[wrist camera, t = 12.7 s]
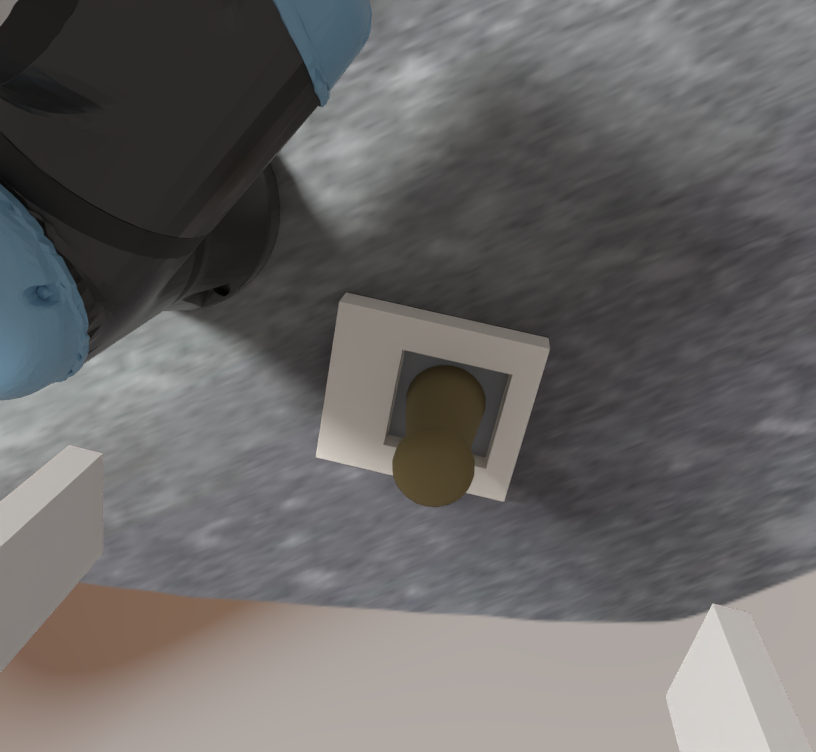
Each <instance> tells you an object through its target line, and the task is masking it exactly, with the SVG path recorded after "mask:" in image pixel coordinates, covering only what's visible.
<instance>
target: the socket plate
mask: <svg viewBox="0 0 816 752" xmlns="http://www.w3.org/2000/svg"><path fill="white" fill-rule="evenodd" d="M549 351H550V345H549V339H548V338H546V337H542V336H538V335H533V334H529V333H524V332H520V331H515V330H511V329H506V328H502V327H498V326H493V325H489V324H484V323H480V322H475V321H471V320H467V319H462V318H458V317H453V316H449V315H444V314H440V313H435V312H431V311H427V310H422V309H418V308H413V307H409V306H404V305H400V304H395V303H391V302H387V301H382V300H378V299H373V298H369V297H364V296H360V295H355V294H351V293H347V292H346V293H345V295H344V296H343V297H342V298H341V300H340V301H339V306H338V313H337V319H336V326H335V333H334V339H333V346H332V353H331V359H330V366H329V373H328V379H327V386H326V393H325V399H324V406H323V413H322V419H321V426H320V432H319V439H318V446H317V452H316V457H317V458H322V459H326V460H330V461H334V462H338V463H343V464H347V465H351V466H355V467H359V468H364V469H368V470H372V471H376V472H380V473H385V474H389V475H393V470H392V460H393V457H394V454H395V451H396V448H397V445H398V444H399V443H400V442H401V440H402V439H403V438H404V437H405V434H406V394H407V391H408V388H409V385H410V383H411V382H412V381H413V379H414V378H415V377H416V376H417V375H418V374H419V373H421V372H422V371H424V370H426V369H427V368H430V367H434V366H438V365H450V366H455V367H458V368H461V369H464V370H466V371H467V372H469V373H470V374H471V375H473V376H474V377H475V378H476V379H477V381H478V382H479V383H480V385H481V386H482V388H483V391H484V394H485V397H486V404H485V411H484V414H483V417H482V420H481V422H480V425H479V428H478V430H477V433H476V436H475V438H474V441H473V444H472V446H471V451H472V454H473V457H474V459H475V468H474V478H473V480H472V483H471V485H470V487H469V489H468V491H467V492H466V493H469V494H473V495H477V496H481V497H485V498H490V499H494V500H498V501H502V502H504V500H505V497H506V494H507V490H508V487H509V484H510V480H511V477H512V474H513V470H514V467H515V464H516V460H517V457H518V454H519V451H520V447H521V444H522V441H523V437H524V434H525V431H526V427H527V424H528V421H529V417H530V414H531V411H532V407H533V404H534V401H535V397H536V394H537V391H538V388H539V384H540V381H541V378H542V374H543V371H544V368H545V364H546V361H547V358H548V354H549Z"/></svg>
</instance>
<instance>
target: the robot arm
mask: <svg viewBox="0 0 816 752" xmlns="http://www.w3.org/2000/svg"><path fill="white" fill-rule="evenodd" d="M371 16H372V11H371V6H370V2H369V0H0V400H10V399H16V398H21V397H24V396H27V395H30V394H32V393H34V392H37V391H39V390H40V389H42V388H44V387H46V386H48V385H50V384H51V383H55V382H62V381H64V380H66V379H67V378H68V377H71V376H73V375H74V374H76V373H77V372H78V371H79V370H80V369H81V367H82V366H83V364H84V363H86V362H87V361H89V360H90V359H92V358H93V357H95V356H96V355H98V354H99V353H101V352H102V351H104V350H105V349H107V348H108V347H110V346H111V345H113V344H114V343H116V342H117V341H119V340H120V339H122V338H123V337H125V336H126V335H128V334H129V333H131V332H132V331H134V330H135V329H137V328H138V327H140V326H141V325H143V324H144V323H146V322H147V321H149V320H150V319H152V318H153V317H155V316H156V315H158V314H159V313H161V312H162V311H181V310H195V309H201V308H205V307H208V306H211V305H214V304H217V303H219V302H221V301H224V300H226V299H227V298H229V297H231V296H232V295H234V294H235V293H236V292H238V291H239V290H240V289H242V288H243V287H244V286H246V285H247V284H248V283H249V282H250V281H252V280H253V279H254V278H255V277H256V275H257V274H258V273H259V272H260V271H261V269H262V268H263V266H264V265H265V263H266V262H267V260H268V258H269V256H270V254H271V252H272V249H273V247H274V244H275V241H276V237H277V232H278V226H279V196H278V190H277V185H276V181H275V178H274V174H273V171H272V168H271V166H270V162H271V161H272V160H273V158H274V157H275V156H276V155H277V154H278V152H279V151H280V150H281V149H282V148H283V147H284V145H285V144H286V143H287V142H288V141H289V140H290V138H291V137H292V136H293V135H294V134H295V132H296V131H297V130H298V129H299V128H300V127H301V125H302V124H303V123H304V122H305V121H306V119H307V118H308V117H309V116H310V115H311V114H312V112H313V111H314V110H315V109H316V108H317V107H318V106H319V107H323V106H324V105H325V104H327V101H328V99H329V95H330V92H329V91H330V90H331V89H332V88H333V86H334V85H335V84H336V82H337V81H338V80H339V78H340V77H341V76H342V75H343V73H344V72H345V71H346V69H347V68H348V67H349V65H350V64H351V63H352V62H353V60H354V59H355V58H356V56H357V55H358V54H359V52H360V51H361V50H362V48H363V47H364V45H365V43H366V41H367V39H368V37H369V34H370V30H371ZM102 554H103V453H99V452H95V451H91V450H87V449H83V448H78V447H74V446H70V445H68V446H67V447H66V448H65V449H64V450H62V451H61V452H60V453H59V454H57V455H56V456H55V457H54V458H53V459H51V460H50V461H49V462H48V463H47V464H45V465H44V466H43V467H42V468H40V469H39V470H38V471H37V472H36V473H34V474H33V475H32V476H31V477H30V478H28V479H27V480H26V481H25V482H23V483H22V484H21V485H20V486H19V487H17V488H16V489H15V490H14V491H12V492H11V493H10V494H9V495H8V496H6V497H5V498H4V499H3V500H2V501H0V673H1V671H2V670H3V669H4V668H5V667H6V666H7V665H8V663H9V662H10V661H11V660H12V659H13V658H14V656H15V655H16V654H17V653H18V652H19V651H20V649H21V648H22V647H23V646H24V645H25V644H26V643H27V641H28V640H29V639H30V638H31V637H32V636H33V634H34V633H35V632H36V631H37V630H38V629H39V627H40V626H41V625H42V624H43V623H44V622H45V620H46V619H47V618H48V617H49V616H50V615H51V613H52V612H53V611H54V610H55V609H56V608H57V607H58V605H59V604H60V603H61V602H62V601H63V600H64V598H65V597H66V596H67V595H68V594H69V593H70V591H71V590H72V589H73V588H74V587H75V586H76V585H77V583H78V582H79V581H80V580H81V579H82V578H83V576H84V575H85V574H86V573H87V572H88V571H89V570H90V568H91V567H92V566H93V565H94V564H95V563H96V561H97V560H98V559H99V558H100V557H101V556H102ZM666 700H667V704H668V708H669V712H670V715H671V719H672V723H673V727H674V731H675V735H676V739H677V743H678V747H679V751H680V752H813V750H812V748H811V746H810V744H809V741H808V739H807V737H806V735H805V732H804V730H803V728H802V726H801V724H800V721H799V719H798V717H797V715H796V713H795V710H794V708H793V706H792V704H791V702H790V699H789V697H788V695H787V693H786V691H785V689H784V686H783V684H782V682H781V680H780V678H779V675H778V673H777V671H776V669H775V667H774V664H773V662H772V660H771V658H770V656H769V653H768V651H767V649H766V647H765V645H764V642H763V640H762V638H761V636H760V634H759V632H758V629H757V627H756V625H755V623H754V620H753V619H752V616H751V614H750V612H746V611H741V610H737V609H733V608H729V607H725V606H721V605H717V604H712V606H711V608H710V610H709V612H708V613H707V615H706V617H705V620H704V621H703V623H702V625H701V627H700V629H699V631H698V633H697V635H696V637H695V639H694V641H693V643H692V645H691V647H690V649H689V651H688V653H687V655H686V657H685V659H684V661H683V663H682V665H681V667H680V668H679V670H678V673H677V675H676V676H675V678H674V680H673V682H672V684H671V687H670V688H669V690H668V692H667V695H666Z"/></svg>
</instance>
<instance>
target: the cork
mask: <svg viewBox="0 0 816 752" xmlns="http://www.w3.org/2000/svg"><path fill="white" fill-rule="evenodd" d="M485 404H486V397H485V394H484V391H483V388H482V386H481V385H480V383H479V382H478V381H477V379H476V378H475V377H474V376H473V375H471V374H470V373H469V372H467V371H466V370H464V369H461V368H458V367H455V366H450V365H438V366H434V367H430V368H427V369H426V370H424V371H422V372H421V373H419V374H418V375H417V376H416V377H415V378H414V379H413V381H412V382H411V383H410V385H409V388H408V391H407V394H406V434H405V437H404V438H403V439H402V440H401V442H400V443H399V444H398V445H397V448H396V451H395V454H394V457H393V460H392V470H393V477H394V479H395V482H396V484H397V486H398V488H399V489H400V490H401V491H402V492H403V494H404V495H405V496H406V497H408V498H409V499H411V500H412V501H414V502H415V503H418V504H421V505H424V506H429V507H439V506H444V505H448V504H451V503H453V502H455V501H456V500H458V499H460V498H461V497H462V496H463V495H464V494H465V493H466V492H467V491H468V489H469V487H470V485H471V483H472V480H473V478H474V468H475V459H474V457H473V454H472V451H471V446H472V444H473V441H474V438H475V436H476V433H477V430H478V428H479V425H480V422H481V420H482V417H483V414H484V411H485Z"/></svg>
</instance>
